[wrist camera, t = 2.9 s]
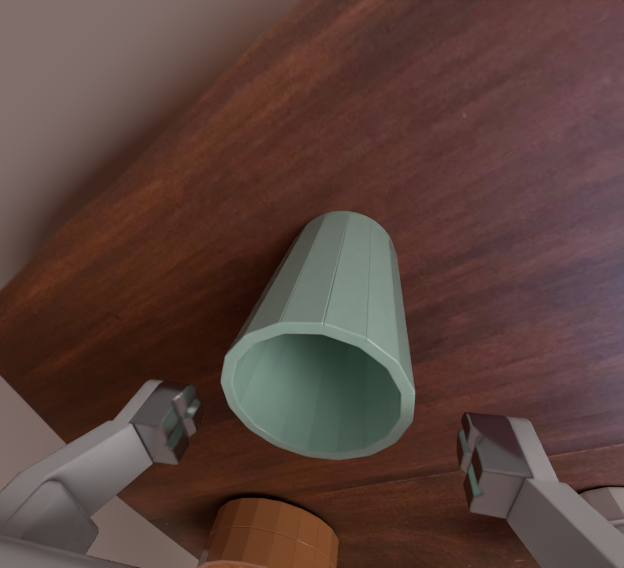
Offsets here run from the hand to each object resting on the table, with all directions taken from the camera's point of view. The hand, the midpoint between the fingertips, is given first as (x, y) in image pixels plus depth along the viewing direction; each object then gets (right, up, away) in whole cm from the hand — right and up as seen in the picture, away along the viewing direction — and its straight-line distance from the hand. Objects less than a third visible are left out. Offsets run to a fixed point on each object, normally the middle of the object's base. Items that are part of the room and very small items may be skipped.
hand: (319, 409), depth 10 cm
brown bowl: (-4, -24, +27) cm, 37 cm away
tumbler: (+2, +5, +9) cm, 10 cm away
